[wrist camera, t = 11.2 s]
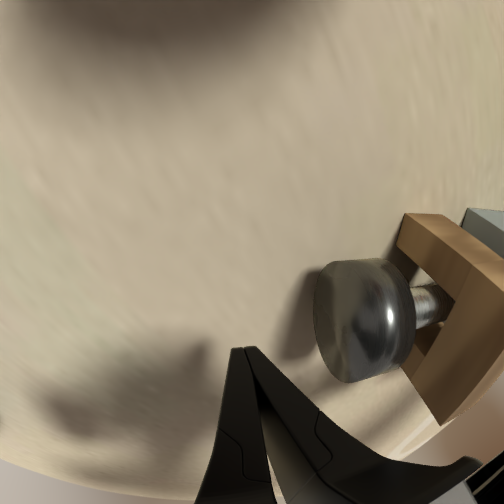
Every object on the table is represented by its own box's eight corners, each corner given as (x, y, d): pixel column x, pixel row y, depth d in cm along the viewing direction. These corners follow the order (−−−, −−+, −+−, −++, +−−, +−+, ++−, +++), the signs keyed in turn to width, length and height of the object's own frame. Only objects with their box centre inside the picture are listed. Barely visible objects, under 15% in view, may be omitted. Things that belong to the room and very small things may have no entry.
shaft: (488, 233, 16) (540, 273, 11) (463, 294, 18) (505, 337, 14) (326, 238, 13) (392, 316, 8) (306, 326, 15) (346, 405, 11)
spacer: (442, 214, 14) (549, 299, 8) (404, 313, 18) (475, 404, 11) (405, 213, 14) (526, 313, 7) (368, 321, 17) (440, 426, 10)
